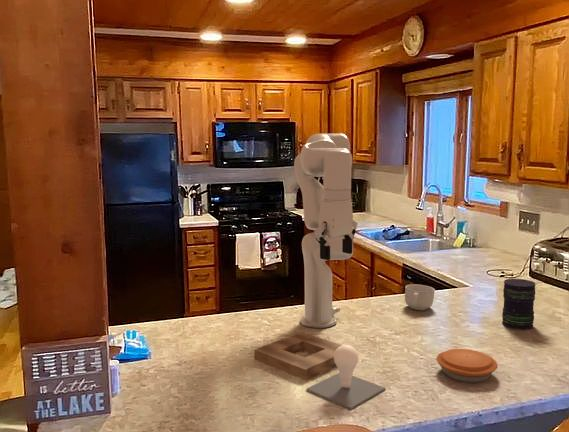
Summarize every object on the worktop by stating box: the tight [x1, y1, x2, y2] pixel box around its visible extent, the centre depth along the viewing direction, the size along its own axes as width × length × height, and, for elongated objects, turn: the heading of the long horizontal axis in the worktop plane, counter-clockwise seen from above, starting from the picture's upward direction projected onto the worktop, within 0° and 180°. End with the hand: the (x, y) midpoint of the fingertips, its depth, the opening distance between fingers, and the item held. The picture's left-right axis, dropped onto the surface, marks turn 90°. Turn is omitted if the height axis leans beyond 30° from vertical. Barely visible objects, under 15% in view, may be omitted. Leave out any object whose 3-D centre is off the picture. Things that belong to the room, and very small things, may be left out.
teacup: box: [404, 283, 436, 311], centre depth 196 cm, size 14×11×8 cm
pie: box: [436, 348, 499, 384], centre depth 140 cm, size 15×16×5 cm
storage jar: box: [501, 278, 536, 331], centre depth 177 cm, size 10×10×15 cm
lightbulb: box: [334, 344, 359, 388], centre depth 131 cm, size 6×6×11 cm
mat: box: [306, 372, 386, 410], centre depth 131 cm, size 14×14×1 cm
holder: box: [253, 331, 343, 381], centre depth 151 cm, size 20×20×3 cm
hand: (336, 256), depth 146 cm, fingers open, 9 cm apart
